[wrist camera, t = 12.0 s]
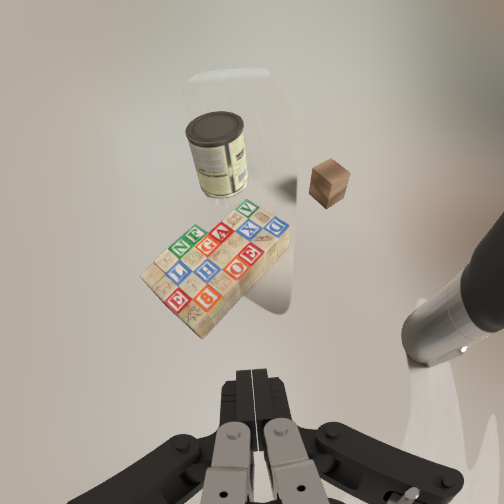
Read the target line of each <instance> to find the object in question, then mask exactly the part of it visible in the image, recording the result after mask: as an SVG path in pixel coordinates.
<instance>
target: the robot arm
mask: <svg viewBox="0 0 504 504" xmlns="http://www.w3.org/2000/svg"><path fill="white" fill-rule="evenodd" d="M503 328H504V212H503V214H502V215H501V216H500V218H499V219H498V220H497V221H496V223H495V224H494V225H493V227H492V228H491V229H490V231H489V232H488V233H487V234H486V236H485V237H484V238H483V239H482V241H481V242H480V243H479V245H478V246H477V248H476V249H475V251H474V253H473V255H472V258H471V261H470V263H469V264H468V265H467V266H466V267H465V268H464V269H463V270H462V271H461V272H460V273H459V274H458V275H456V276H455V277H454V278H453V279H452V280H451V281H450V282H449V283H448V284H447V285H445V286H444V287H443V288H442V289H441V290H440V291H439V292H438V293H436V294H435V295H434V296H433V297H432V298H431V299H429V300H428V301H427V302H426V303H424V304H423V305H422V306H421V307H420V308H418V309H417V310H415V311H414V312H413V313H412V314H411V315H410V316H409V317H408V318H407V319H406V321H405V322H404V325H403V328H402V344H403V347H404V349H405V351H406V353H407V354H408V355H409V356H410V357H411V358H412V359H413V360H414V361H417V362H419V363H425V364H427V366H428V367H433V366H435V365H438V364H441V363H443V362H446V361H449V360H451V359H454V358H456V357H459V356H461V355H462V354H463V353H464V352H465V350H466V349H467V348H468V346H470V345H472V344H474V343H476V342H478V341H480V340H482V339H484V338H486V337H488V336H490V335H492V334H493V333H496V332H497V331H500V330H501V329H503ZM252 375H253V387H254V399H255V412H256V423H257V432H258V443H259V451H264V458H265V461H266V465H267V470H268V474H269V479H270V483H271V488H272V492H273V497H274V500H273V501H270V502H266V503H257V502H254V496H253V495H254V456H253V452H254V451H258V449H257V437H256V424H255V413H254V400H253V389H252V378H251V370H240V371H236V381H226V383H225V384H224V385H223V387H222V393H221V396H222V397H221V409H220V424H219V428H218V429H217V431H216V432H214V433H213V434H211V435H209V436H207V437H203V438H199V439H196V438H195V437H193V436H191V435H187V434H180V435H176V436H173V437H172V438H170V439H169V440H167V441H166V442H165V443H163V444H162V445H160V446H159V447H157V448H156V449H155V450H153V451H152V452H150V453H149V454H147V455H146V456H144V457H143V458H141V459H140V460H138V461H137V462H135V463H134V464H132V465H131V466H129V467H128V468H126V469H124V470H123V471H121V472H120V473H118V474H116V475H115V476H113V477H112V478H110V479H108V480H106V481H105V482H103V483H102V484H100V485H98V486H96V487H94V488H93V489H91V490H89V491H88V492H86V493H84V494H82V495H80V496H78V497H76V498H75V499H72V500H71V501H69V502H68V503H67V504H184V503H185V502H187V501H188V500H189V499H190V498H191V497H193V496H194V495H195V494H196V493H198V492H199V491H200V490H201V489H202V488H203V492H202V498H201V503H200V504H345V503H343V502H341V501H338V500H335V499H332V498H327V495H326V493H325V490H324V487H323V484H322V482H321V479H320V478H322V479H323V480H325V481H327V482H329V483H330V484H332V485H334V486H335V487H337V488H339V489H341V490H343V491H345V492H346V493H348V494H350V495H352V496H354V497H356V498H358V499H360V500H362V501H364V502H366V503H368V504H449V503H450V502H451V501H452V499H453V498H454V497H455V495H456V494H457V493H458V492H459V491H460V490H461V489H462V487H463V484H464V478H463V475H462V474H461V473H460V472H459V471H458V470H456V469H453V468H449V467H446V466H443V465H440V464H437V463H434V462H432V461H429V460H426V459H423V458H420V457H418V456H415V455H412V454H410V453H407V452H405V451H402V450H400V449H397V448H395V447H392V446H390V445H387V444H385V443H383V442H381V441H378V440H376V439H374V438H371V437H369V436H367V435H365V434H363V433H360V432H359V431H357V430H354V429H352V428H350V427H348V426H346V425H344V424H342V423H338V422H328V423H325V424H323V425H321V426H320V427H319V428H318V430H313V429H304V428H301V427H299V426H297V425H296V423H295V422H293V420H292V418H291V414H290V409H289V405H288V401H287V396H286V392H285V387H284V383H283V382H282V381H281V380H280V379H279V378H278V377H275V378H268V375H267V369H266V368H265V369H254V370H252Z"/></svg>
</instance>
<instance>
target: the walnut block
mask: <svg viewBox="0 0 504 504" xmlns="http://www.w3.org/2000/svg"><path fill="white" fill-rule="evenodd" d="M349 177H350V172H348V171H347V170H346V169H345V168H343V167H341V165H339V164H338V163H337V162H336V161H334V160H333V159H332V158H331V159H329V160H327V161H325V162H323V163H321V164H319V165H317V166H316V167H313V169H312V175H311V183H310V190H309V194H310V195H311V196H312V197H313V198H314V199H315V200H316V201H318V202H319V203H320V204H321V205H322V206H323V207H324V208H325V209H328V208H329V207H331V206H332V205H334V204H335V203H337V202H338V201H340V200H342V199H343V198H344V195H345V191H346V188H347V184H348V180H349Z"/></svg>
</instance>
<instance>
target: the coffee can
mask: <svg viewBox="0 0 504 504" xmlns="http://www.w3.org/2000/svg"><path fill="white" fill-rule="evenodd" d="M243 127H244V124H243V120H242V118H241V117H240V116H238V115H236V114H234V113H231V112H224V111H219V112H211V113H207V114H204V115H201V116H199V117H197V118H195V119H194V120H193V121H191V122H190V123H189V124H188V126H187V128H186V136H187V138H188V141H189V145H190V149H191V152H192V156H193V159H194V163H195V167H196V171H197V173H198V178H199V181H200V186H201V189H202V190H203V192H204V193H205V194H207V195H209V196H211V197H215V198H226V197H231V196H234V195H236V194H238V193H239V192H241V191H242V190H243V189H244V188H245V187H246V185H247V183H248V173H247V163H246V153H245V142H244V133H243Z"/></svg>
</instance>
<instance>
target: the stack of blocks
mask: <svg viewBox="0 0 504 504" xmlns="http://www.w3.org/2000/svg"><path fill="white" fill-rule="evenodd" d="M289 232H290V225H288V224H287V223H285V222H284V221H282V220H280V219H279V218H277V217H276V216H274V215H273V214H271V213H270V212H268V211H267V210H265V209H263V208H262V207H259V206H258V205H256V204H254V203H253V202H251V201H249V200H248V199H246V200H244V201H243V202H242V203H241V204H240V205H239V206H238V207H237V208H236V209H235V210H233V211H232V212H231V213H230V214H229V215H228V216H226V217H225V218H224V219H223V220H222V221H221V222H220V223H219V224H218V225H217V226H216V227H215V228H213V229H212V230H211V231H210V232H209V233H208V232H206V231H205V230H203V229H202V228H200V227H199V226H198V225H196V224H195V225H194V226H192V227H191V228H190V229H189V230H188V231H187V232H186V233H184V234H183V236H181V237H180V238H179V239H178V240H176V241H175V242H174V243H173V244H172V245H171V246H170V247H169V248H168V249H166V250H165V251H164V252H163V253H162V254H161V255H160V256H159V257H157V258H156V259H155V260H154V263H153V264H151V265H150V266H149V267H148V268H147V269H146V270H145V271H144V272H143V273H142V274H141V275H140V277H141V278H142V280H143V281H144V282H145V283H146V284H147V285H148V286H149V287H150V288H151V290H152V291H153V292H154V293H155V294H156V295H157V296H158V297H159V299H160V300H161V301H162V302H163V303H164V304H165V305H166V306H167V307H168V308H169V309H170V310H171V311H172V312H173V313H174V314H175V315H176V316H177V317H179V318H180V319H181V320H182V321H183V322H184V323H185V324H186V325H187V326H188V327H189V328H190V329H191V330H192V331H193V332H195V333H196V334H197V335H198V336H199V337H200V338H201V339H203V338H204V337H205V336H206V335H207V334H208V333H209V332H210V331H211V330H212V329H213V328H214V327H215V325H216V324H217V323H218V322H219V321H220V320H221V319H222V318H223V317H224V316H225V315H226V314H227V313H228V311H229V310H230V309H231V308H232V307H233V306H234V305H235V304H236V303H237V302H238V300H240V298H241V297H242V296H243V295H244V294H245V293H246V292H247V291H248V290H249V289H250V288H251V287H252V286H253V284H254V283H256V281H257V280H258V279H259V278H260V277H261V276H262V275H263V274H264V273H265V271H266V270H267V269H268V268H269V267H270V266H271V265H272V264H273V263H274V262H275V261H276V259H277V258H278V257H279V256H280V255H281V254H282V253H283V251H284V250H285V249H286V248H287V247H288V244H289Z"/></svg>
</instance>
